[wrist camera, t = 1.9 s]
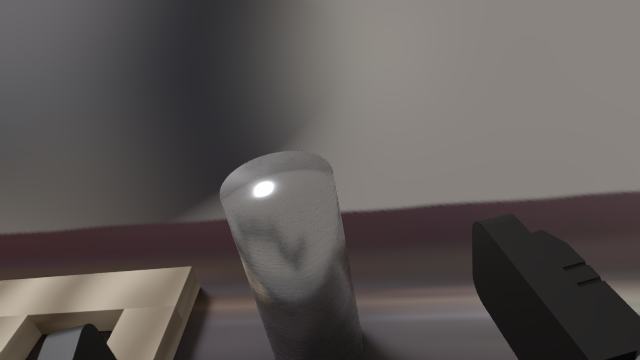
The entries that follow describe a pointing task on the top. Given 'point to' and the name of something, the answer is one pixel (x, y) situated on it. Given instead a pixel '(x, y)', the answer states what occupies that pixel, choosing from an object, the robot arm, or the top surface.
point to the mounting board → (101, 310)
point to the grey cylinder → (295, 255)
